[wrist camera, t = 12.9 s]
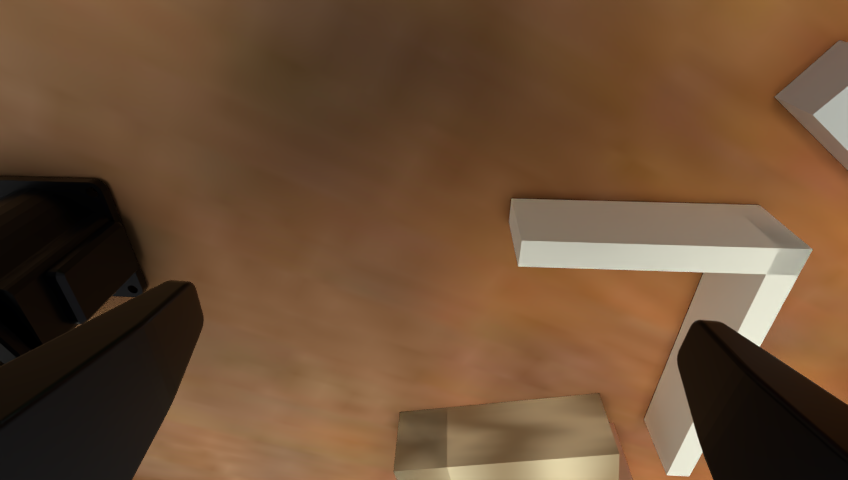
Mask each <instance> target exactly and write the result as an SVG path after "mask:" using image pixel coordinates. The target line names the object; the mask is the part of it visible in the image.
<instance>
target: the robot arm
mask: <svg viewBox="0 0 848 480" xmlns="http://www.w3.org/2000/svg"><path fill="white" fill-rule="evenodd" d="M92 188H93V189H95V190H96V191H97V193H96V192H95V191H94V190H93V189H92ZM134 286H135V287H134ZM146 289H147V285H146V282H145V279H144V277H143V274H142V272H141V269H140V267H139V264H138V262H137V259H136V257H135V254H134V252H133V249H132V247H131V244H130V242H129V239H128V237H127V234H126V232H125V229H124V227H123V224H122V222H121V219H120V217H119V214H118V212H117V209H116V207H115V204H114V202H113V199H112V197H111V194H110V192H109V189H108V187H107V186H106V185H105V184H104V183H103V182H102V181H100V180H98V179H91V178H52V177H12V176H0V480H132V479H133V477H134V475H135V473H136V471H137V469H138V467H139V465H140V464H141V462H142V460H143V458H144V456H145V454H146V452H147V450H148V448H149V447H150V445H151V443H152V441H153V439H154V437H155V435H156V433H157V431H158V430H159V428H160V426H161V424H162V422H163V420H164V418H165V416H166V414H167V412H168V410H169V408H170V406H171V404H172V402H173V400H174V398H175V395H176V393H177V391H178V388H179V386H180V383H181V381H182V378H183V376H184V373H185V371H186V368H187V366H188V363H189V361H190V358H191V356H192V353H193V350H194V348H195V345H196V343H197V340H198V338H199V335H200V333H201V330H202V327H203V321H204V319H203V312H202V309H201V305H200V301H199V298H198V294H197V291H196V288H195V286H194V284H193V283H191V282H188V281H175V280H170V281H166V282H164V283H162V284H160V285H158V286H156V287H154V288H152V289H150V290H148V291H147V292H145V291H146ZM144 292H145V293H144ZM111 296H123V297H135V298H133V299H131V300H129V301H127V302H125V303H123V304H121V305H119V306H117V307H115V308H113V309H111V310H109V311H107V312H105V313H103V314H101V315H100V316H98V317H96V318H94V319H92V320H90V321H88V320H89V319H90V318H91V317H92V316H93V315H94V314H95V313H96V312H97V311H98V310H99V309H100V308H101V307H102V306H103V305H104V304H105V303H106V302H107V301H108V300H109V299H110V298H111ZM87 321H88V322H87ZM78 324H82V325H80V326H78V327H76V326H77V325H78ZM75 327H76V328H75ZM677 365H678V369H679V373H680V376H681V380H682V383H683V387H684V391H685V394H686V398H687V401H688V405H689V409H690V412H691V416H692V419H693V423H694V427H695V430H696V434H697V437H698V440H699V443H700V446H701V449H702V452H703V454H704V457H705V460H706V462H707V465H708V467H709V470H710V472H711V475H712V477H713V480H848V405H847V404H846V403H844V402H842V401H841V400H839V399H838V398H836V397H835V396H833V395H832V394H830V393H829V392H827V391H826V390H824V389H823V388H821V387H820V386H818V385H817V384H815V383H814V382H812V381H811V380H809V379H808V378H806V377H805V376H803V375H802V374H800V373H798V372H797V371H795V370H794V369H792V368H791V367H789V366H788V365H786V364H785V363H783V362H782V361H780V360H779V359H777V358H776V357H774V356H773V355H771V354H770V353H768V352H767V351H765V350H764V349H762V348H761V347H759V346H758V345H756V344H755V343H753V342H751V341H750V340H748V339H747V338H745V337H744V336H742V335H741V334H739V333H738V332H736V331H735V330H733V329H732V328H730V327H729V326H727V325H726V324H724V323H722V322H720V321H711V320H696V321H694V322H693V323H692V324H691V326H690V328H689V330H688V332H687V334H686V336H685V338H684V340H683V343H682V345H681V347H680V349H679V351H678V355H677Z"/></svg>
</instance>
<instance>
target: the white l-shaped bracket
mask: <svg viewBox="0 0 848 480" xmlns="http://www.w3.org/2000/svg"><path fill="white" fill-rule="evenodd" d="M509 225H510V230H511V235H512V240H513V244H514V249H515V254H516V259H517V263H518V266H520V267H551V268H582V269H614V270H645V271H676V272H703V275H702V277H701V280H700V282H699V285H698V287H697V290H696V292H695V295H694V297H693V300H692V302H691V304H690V307H689V309H688V312H687V314H686V317H685V319H684V322H683V324H682V327H681V329H680V332H679V334H678V337H677V339H676V341H675V344H674V346H673V349H672V351H671V354H670V356H669V359H668V361H667V364H666V366H665V369H664V371H663V374H662V376H661V378H660V381H659V383H658V386H657V388H656V391H655V393H654V396H653V398H652V401H651V403H650V406H649V408H648V411H647V413H646V416H645V418H644V421H645V424H646V426H647V428H648V431H649V433H650V436H651V438H652V441H653V443H654V446H655V448H656V450H657V453H658V455H659V458H660V460H661V463H662V465H663V468H664V470H665V472H666V475H672V476H690V474H691V472H692V470H693V469H694V467H695V465H696V463H697V461H698V459H699V458H700V456H701V454H702V449H701V446H700V443H699V440H698V437H697V434H696V430H695V427H694V423H693V419H692V416H691V412H690V409H689V405H688V401H687V398H686V394H685V391H684V387H683V383H682V380H681V376H680V373H679V369H678V365H677V355H678V351H679V349H680V347H681V345H682V343H683V340H684V338H685V336H686V334H687V332H688V330H689V328H690V326H691V324H692V323H693V322H694V321H696V320H711V321H720V322H722V323H724V324H726V325H727V326H729V327H730V328H732V329H733V330H735V331H736V332H738V333H739V334H741V335H742V336H744V337H745V338H747V339H748V340H750V341H751V342H753V343H755V344H756V345H758V346H759V347H760V345H761V343H762V342H763V340H764V338H765V336H766V334H767V332H768V331H769V329H770V327H771V325H772V323H773V321H774V320H775V318H776V316H777V314H778V312H779V310H780V309H781V307H782V305H783V303H784V301H785V299H786V297H787V296H788V294H789V292H790V290H791V288H792V286H793V285H794V283H795V281H796V279H797V277H798V275H799V274H800V272H801V270H802V268H803V266H804V264H805V263H806V261H807V259H808V257H809V255H810V253H811V252H812V250H813V249H812V248H810V247H809V246H808V245H807V244H806V243H804V242H803V241H802V240H801V239H800V238H798V237H797V236H796V235H795V234H794V233H792V232H791V231H790V230H789V229H788V228H786V227H785V226H784V225H783V224H782V223H780V222H779V221H778V220H777V219H776V218H774V217H773V216H772V215H771V214H770V213H768V212H767V211H766V210H765V209H764V208H762V207H761V206H760V205H741V204H703V203H665V202H627V201H589V200H551V199H513V198H512V199H511V207H510V216H509Z"/></svg>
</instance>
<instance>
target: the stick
mask: <svg viewBox="0 0 848 480" xmlns="http://www.w3.org/2000/svg"><path fill="white" fill-rule="evenodd" d="M775 98H776V99H777V100H778V101H779V102H780V103H781V104H782V105H783V106H784V107H785V108H786V109H787V110H788V111H789V112H790V113H791V114H792V115H793V116H794V117H795V118H796V119H797V120H798V121H799V122H800V123H801V124H802V125H803V126H804V127H805V128H806V129H807V130H808V131H809V132H810V133H811V134H812V135H813V136H814V137H815V138H816V139H817V140H818V141H819V142H820V143H821V144H822V145H823V146H824V147H825V148H826V149H827V150H828V151H829V152H830V153H831V154H832V155H833V156H834V157H835V158H836V159H837V160H838V161H839V162H840V163H841V164H842V165H843V166H844V167H845V168H846V169H847V170H848V42H844V41H840V40H839V41H838V42H837V43H836V44H834V45H833V46H832V47H831V48H830V49H829V50H828V51H826V52H825V53H824V54H823V55H822V56H821V57H820V58H818V59H817V60H816V61H815V62H814V63H813V64H812V65H810V66H809V67H808V68H807V69H806V70H805V71H804V72H802V73H801V74H800V75H799V76H798V77H797V78H796V79H794V80H793V81H792V82H791V83H790V84H789V85H788V86H786V87H785V88H784V89H783V90H782V91H781V92H780V93H778V94H777V95H776V96H775Z"/></svg>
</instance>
